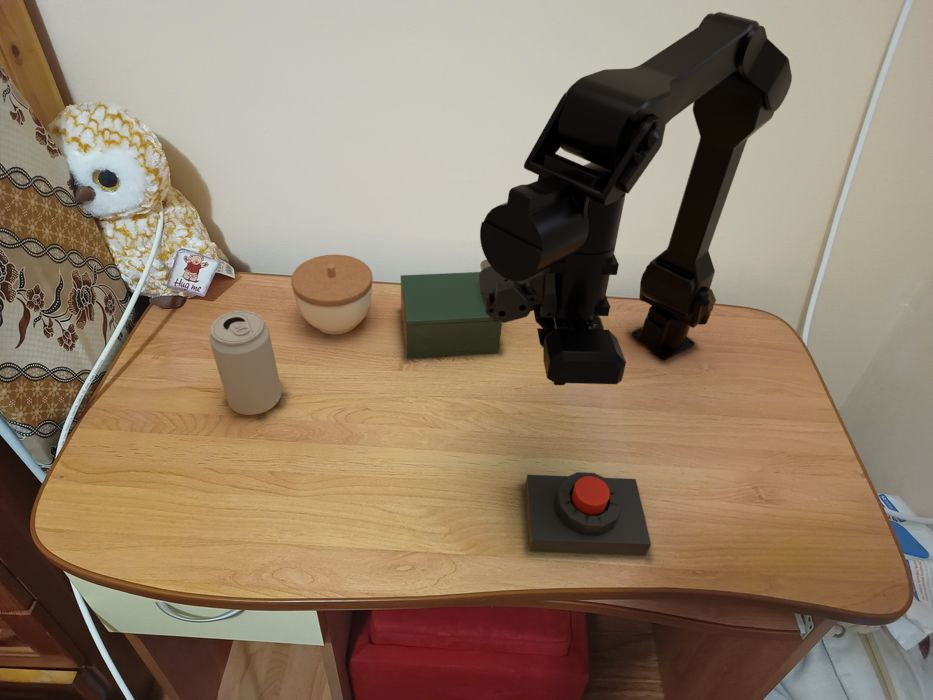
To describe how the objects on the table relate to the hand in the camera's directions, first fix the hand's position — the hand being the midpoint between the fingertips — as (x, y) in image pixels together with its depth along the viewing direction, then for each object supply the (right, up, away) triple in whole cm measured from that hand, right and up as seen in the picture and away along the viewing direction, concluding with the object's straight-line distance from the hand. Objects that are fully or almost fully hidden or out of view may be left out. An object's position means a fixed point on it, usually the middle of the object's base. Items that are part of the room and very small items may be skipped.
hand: (558, 383), depth 62 cm
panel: (+3, -15, +5) cm, 16 cm away
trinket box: (-28, +7, +27) cm, 39 cm away
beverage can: (-35, -3, +15) cm, 38 cm away
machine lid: (-11, +10, +22) cm, 27 cm away
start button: (+3, -12, +2) cm, 13 cm away
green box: (-12, +6, +26) cm, 29 cm away
